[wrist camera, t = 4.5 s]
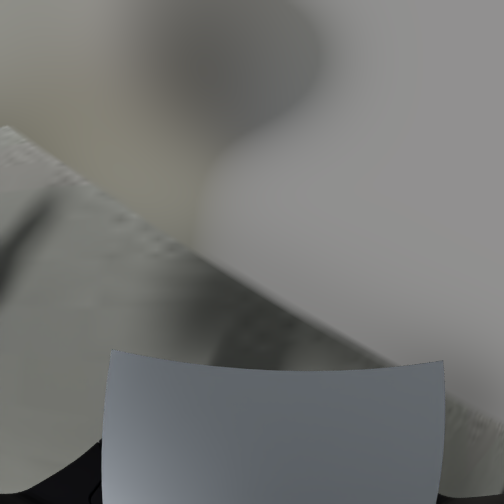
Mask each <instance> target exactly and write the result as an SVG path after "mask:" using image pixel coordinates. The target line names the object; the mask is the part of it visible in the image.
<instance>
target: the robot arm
mask: <svg viewBox="0 0 504 504" xmlns="http://www.w3.org/2000/svg"><path fill="white" fill-rule="evenodd" d="M0 504H103V499H102V439H100V440H99V442H97V443H96V444H95V445H94V446H92V447H91V448H90V449H89V450H88V451H87V452H85V453H84V454H83V455H82V456H81V457H79V458H78V459H77V460H75V461H74V462H72V463H71V464H69V465H68V466H67V467H65V468H64V469H62V470H60V471H59V472H57V473H56V474H54V475H52V476H51V477H49V478H47V479H46V480H44V481H42V482H40V483H39V484H37V485H35V486H33V487H32V488H30V489H28V490H25V491H22V492H18V493H13V494H0ZM436 504H504V494H499V495H491V496H482V497H469V498H452V497H447V496H444V495H441V494H439V493H438V495H437V500H436Z"/></svg>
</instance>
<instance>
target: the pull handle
mask: <svg viewBox="0 0 504 504" xmlns="http://www.w3.org/2000/svg"><path fill="white" fill-rule="evenodd" d="M444 435H445V381H444V366H443V361H436V362H429V363H423V364H415V365H407V366H398V367H388V368H376V369H361V370H340V371H278V370H256V369H241V368H229V367H219V366H209V365H200V364H192V363H185V362H178V361H171V360H165V359H159V358H153V357H147V356H142V355H137V354H132V353H127V352H122V351H117V350H113V349H112V350H111V357H110V363H109V370H108V378H107V386H106V395H105V405H104V417H103V432H102V499H103V504H436V500H437V495H438V489H439V483H440V477H441V469H442V460H443V450H444Z"/></svg>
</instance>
